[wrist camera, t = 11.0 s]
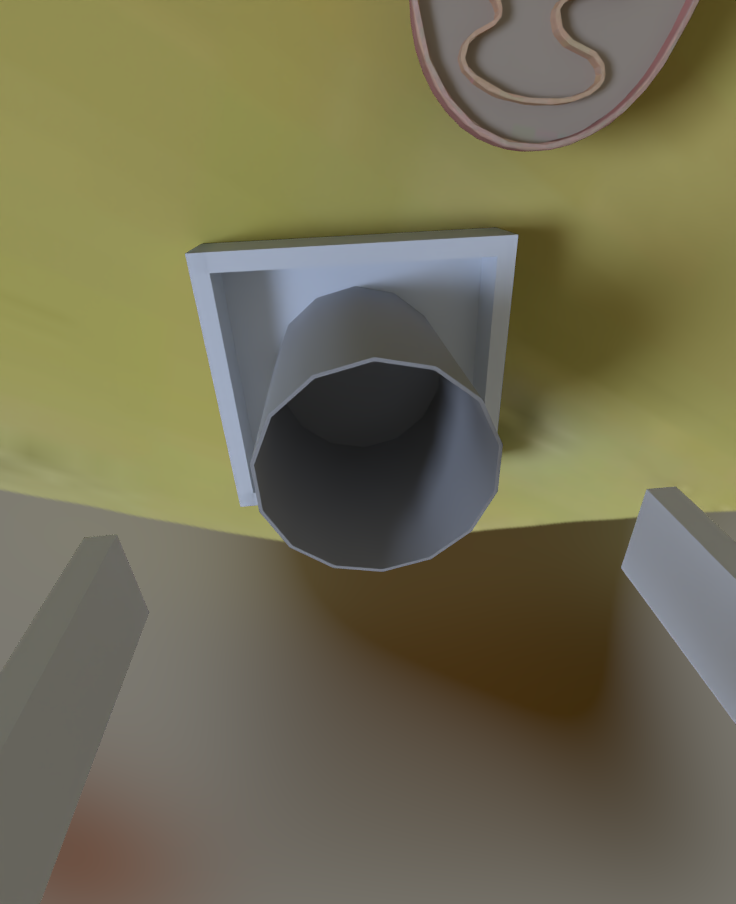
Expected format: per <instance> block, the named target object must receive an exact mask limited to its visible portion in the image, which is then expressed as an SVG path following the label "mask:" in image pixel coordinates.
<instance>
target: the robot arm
mask: <svg viewBox="0 0 736 904" xmlns="http://www.w3.org/2000/svg"><path fill="white" fill-rule="evenodd" d="M621 568H622V570H623V571H624V572H625V574H626V575H627V577H628V578H629V579H630V581H631V582H632V583H633V585H634V586H635V587H636V589H637V590H638V592H639V593H640V594H641V596H642V597H643V598H644V600H645V601H646V602H647V604H648V605H649V607H650V608H651V609H652V611H653V612H654V613H655V615H656V616H657V617H658V619H659V620H660V622H661V623H662V624H663V626H664V627H665V628H666V630H667V631H668V633H669V634H670V635H671V637H672V638H673V639H674V641H675V642H676V643H677V645H678V646H679V647H680V649H681V650H682V652H683V653H684V654H685V656H686V657H687V658H688V659H689V661H690V663H691V664H692V665H693V666H694V668H695V669H696V670H697V672H698V673H699V675H700V676H701V678H702V679H703V680H704V682H705V683H706V684H707V686H708V687H709V688H710V690H711V691H712V692H713V694H714V695H715V697H716V698H717V699H718V701H719V702H720V703H721V705H722V706H723V707H724V709H725V710H726V711H727V713H728V714H729V716H730V717H731V718H732V720H733V721H734V723H735V724H736V542H735V541H734V540H733V539H732V538H731V537H730V536H729V535H728V534H726V533H725V532H724V531H723V530H722V529H721V528H720V527H719V526H718V525H717V524H716V523H714V521H712V520H711V519H710V518H709V517H708V516H707V515H706V514H705V513H704V512H703V511H702V510H701V509H700V508H698V507H697V506H696V505H695V504H694V503H693V502H692V501H691V500H690V499H689V498H688V497H687V496H685V495H684V494H683V493H682V492H681V491H680V490H679V489H678V488H677V487H665V488H654V489H647V490H646V493H645V496H644V499H643V502H642V505H641V508H640V511H639V515H638V518H637V521H636V524H635V527H634V530H633V533H632V536H631V539H630V542H629V545H628V549H627V552H626V555H625V558H624V561H623V564H622V567H621ZM148 614H149V611H148V609H147V606H146V603H145V601H144V599H143V596H142V594H141V591H140V589H139V586H138V584H137V582H136V579H135V577H134V574H133V572H132V570H131V567H130V565H129V562H128V560H127V557H126V555H125V553H124V550H123V548H122V545H121V543H120V540H119V538H118V536H117V535H106V536H96V537H95V536H94V537H84V539H83V540H82V542H81V543H80V545H79V547H78V548H77V550H76V552H75V553H74V555H73V556H72V558H71V560H70V561H69V563H68V564H67V566H66V568H65V569H64V571H63V573H62V574H61V576H60V577H59V579H58V581H57V582H56V584H55V585H54V587H53V589H52V590H51V592H50V594H49V595H48V597H47V598H46V600H45V601H44V603H43V605H42V606H41V608H40V610H39V611H38V613H37V614H36V616H35V618H34V619H33V621H32V623H31V624H30V626H29V627H28V629H27V631H26V632H25V634H24V635H23V637H22V639H21V640H20V642H19V643H18V645H17V647H16V648H15V650H14V652H13V653H12V655H11V656H10V658H9V660H8V661H7V663H6V665H5V666H4V668H3V669H2V671H1V672H0V904H40V902H41V899H42V897H43V894H44V891H45V889H46V886H47V883H48V881H49V878H50V875H51V873H52V870H53V867H54V864H55V862H56V859H57V857H58V854H59V851H60V848H61V845H62V843H63V841H64V838H65V835H66V833H67V830H68V827H69V825H70V822H71V819H72V817H73V814H74V811H75V808H76V806H77V803H78V801H79V798H80V795H81V793H82V790H83V787H84V785H85V782H86V779H87V777H88V774H89V771H90V769H91V766H92V763H93V761H94V758H95V755H96V753H97V750H98V747H99V745H100V742H101V739H102V737H103V734H104V731H105V729H106V726H107V723H108V721H109V718H110V715H111V713H112V710H113V707H114V705H115V702H116V699H117V697H118V694H119V691H120V689H121V686H122V684H123V681H124V678H125V676H126V673H127V670H128V667H129V665H130V662H131V660H132V657H133V654H134V652H135V649H136V646H137V643H138V641H139V638H140V636H141V633H142V630H143V628H144V625H145V622H146V620H147V617H148Z"/></svg>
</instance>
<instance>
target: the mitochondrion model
mask: <svg viewBox="0 0 736 904" xmlns="http://www.w3.org/2000/svg"><path fill="white" fill-rule="evenodd" d="M409 2H410V19H411V27H412V33H413V39H414V44H415V50H416V53H417V56H418V59H419V62H420V65H421V68H422V71H423V74H424V76H425V78H426V80H427V82H428V84H429V86H430V88H431V90H432V92H433V94H434V96H435V97H436V98H437V100H438V101H439V103H440V104H441V106H442V107H443V108H444V110H445V111H446V112H447V113H448V114H449V116H450V117H451V118H452V119H453V120H454V121H455V122H456V123H457V124H458V125H459V126H460V127H461V128H462V129H464V130H465V131H467V132H468V133H470V134H471V135H473V136H474V137H476V138H477V139H479V140H482V141H484V142H486V143H488V144H491V145H493V146H497V147H500V148H503V149H507V150H515V151H542V150H551V149H555V148H559V147H563V146H567V145H570V144H572V143H575V142H577V141H579V140H582V139H584V138H586V137H588V136H590V135H592V134H593V133H595V132H597V131H599V130H601V129H602V128H604V127H606V126H608V125H609V124H610V123H611V122H613V121H614V120H615V119H616V118H617V117H618V116H620V115H621V114H622V113H623V112H624V111H626V110H627V109H628V108H629V106H630V105H631V104H632V103H633V102H634V101H635V100H636V99H637V98H638V97H639V96H640V95H641V94H642V93H643V92H644V91H645V90H646V89H647V87H648V86H649V85H650V83H651V82H652V81H653V79H654V78H655V76H656V75H657V74H658V72H659V71H660V70H661V68H662V67H663V66H664V64H665V63H666V61H667V59H668V57H669V56H670V54H671V52H672V50H673V48H674V47H675V45H676V43H677V41H678V40H679V38H680V36H681V34H682V32H683V31H684V29H685V27H686V25H687V24H688V22H689V20H690V18H691V16H692V14H693V12H694V10H695V8H696V6H697V4H698V2H699V0H409Z"/></svg>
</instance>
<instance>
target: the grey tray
mask: <svg viewBox="0 0 736 904" xmlns="http://www.w3.org/2000/svg"><path fill="white" fill-rule="evenodd" d="M517 243H518V234H515V233H512V232H509V231H506V230H502V229H499V228H496V227H494V228H476V229H458V230H440V231H422V232H404V233H386V234H369V235H351V236H333V237H315V238H297V239H279V240H261V241H243V242H225V243H207V244H200V245H199V246H197V247H195V248H194V249H192V250H190V251H188V252H187V253H185V256H186V260H187V265H188V269H189V274H190V278H191V283H192V288H193V292H194V297H195V301H196V306H197V310H198V315H199V319H200V324H201V329H202V333H203V338H204V342H205V347H206V351H207V356H208V360H209V365H210V370H211V374H212V379H213V383H214V388H215V392H216V397H217V401H218V406H219V411H220V415H221V420H222V424H223V429H224V433H225V438H226V443H227V447H228V452H229V456H230V461H231V465H232V470H233V474H234V479H235V484H236V488H237V493H238V497H239V502H240V506H241V507H242V506H254V505H258V502H257V497H256V492H255V487H254V482H253V477H252V472H251V467H250V463H251V459H252V455H253V451H254V447H255V443H256V439H257V435H258V431H259V427H260V423H261V419H262V415H263V411H264V407H265V403H266V399H267V395H268V391H269V387H270V383H271V379H272V375H273V371H274V367H275V363H276V359H277V356H278V353H279V350H280V348H281V345H282V342H283V339H284V336H285V333H286V330H287V327H288V325H289V324H290V323H291V322H292V321H293V320H294V319H295V318H296V317H297V316H298V315H299V314H300V313H301V312H302V311H303V310H304V309H305V308H306V307H307V306H308V305H309V304H311V303H312V302H313V301H314V300H315V299H316V298H318V297H321V296H324V295H327V294H331V293H334V292H337V291H341V290H344V289H347V288H350V287H354V286H357V287H362V288H368V289H374V290H380V291H386V292H392V293H395V294H396V295H397V296H399V297H400V298H401V299H403V300H404V301H405V302H407V303H408V304H409V305H411V306H412V307H413V308H415V309H416V310H417V311H419V312H420V313H421V314H423V315H424V316H425V318H426V319H427V321H428V322H429V323H430V325H431V326H432V328H433V329H434V331H435V332H436V333H437V335H438V336H439V338H440V339H441V341H442V342H443V343H444V345H445V346H446V348H447V349H448V351H449V352H450V354H451V355H452V356H453V358H454V359H455V361H456V362H457V364H458V365H459V366H460V368H461V369H462V371H463V372H464V374H465V375H466V376H467V378H468V379H469V381H470V382H471V384H472V385H473V387H474V388H475V389H476V391H477V392H478V394H479V395H480V397H481V398H482V400H483V402H484V404H485V406H486V409H487V411H488V413H489V415H490V417H491V420H492V422H493V424H494V426H495V428H496V431H498V422H499V413H500V403H501V394H502V384H503V375H504V365H505V356H506V347H507V337H508V328H509V318H510V309H511V299H512V290H513V280H514V271H515V262H516V252H517Z"/></svg>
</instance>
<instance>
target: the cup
mask: <svg viewBox="0 0 736 904" xmlns="http://www.w3.org/2000/svg"><path fill="white" fill-rule="evenodd" d="M502 447H503V444H502V442H501V439H500V437H499V435H498V433H497V431H496V428H495V426H494V424H493V422H492V420H491V417H490V415H489V413H488V411H487V409H486V406H485V404H484V402H483V400H482V398H481V397H480V395H479V394H478V392H477V391H476V389H475V388H474V387H473V385H472V384H471V382H470V381H469V379H468V378H467V376H466V375H465V374H464V372H463V371H462V369H461V368H460V366H459V365H458V364H457V362H456V361H455V359H454V358H453V356H452V355H451V354H450V352H449V351H448V349H447V348H446V346H445V345H444V343H443V342H442V341H441V339H440V338H439V336H438V335H437V333H436V332H435V331H434V329H433V328H432V326H431V325H430V323H429V322H428V321H427V319H426V318H425V316H424V315H423V314H421V313H420V312H419V311H417V310H416V309H415V308H413V307H412V306H411V305H409V304H408V303H407V302H405V301H404V300H403V299H401V298H400V297H399V296H397V295H396V294H395V293H392V292H386V291H380V290H374V289H368V288H362V287H357V286H354V287H350V288H347V289H344V290H341V291H337V292H334V293H331V294H327V295H324V296H321V297H318V298H316V299H315V300H314V301H313V302H312V303H311V304H309V305H308V306H307V307H306V308H305V309H304V310H303V311H302V312H301V313H300V314H299V315H298V316H297V317H296V318H295V319H294V320H293V321H292V322H291V323H290V324H289V325H288V327H287V330H286V333H285V336H284V339H283V342H282V345H281V348H280V350H279V353H278V356H277V359H276V363H275V367H274V371H273V375H272V379H271V383H270V387H269V391H268V395H267V399H266V403H265V407H264V411H263V415H262V419H261V423H260V427H259V431H258V435H257V439H256V443H255V447H254V451H253V455H252V459H251V463H250V467H251V472H252V477H253V482H254V487H255V492H256V497H257V502H258V507H259V512H260V513H261V514H262V515H263V516H264V518H265V519H266V520H267V521H268V522H269V523H270V525H271V526H272V527H273V528H274V529H275V531H276V532H277V533H278V534H279V535H280V536H281V538H282V539H283V540H284V541H285V542H286V543H287V545H288V546H289V547H290V548H292V549H294V550H297V551H299V552H301V553H303V554H305V555H307V556H309V557H312V558H314V559H316V560H318V561H320V562H322V563H324V564H326V565H328V566H331V567H333V568H343V569H355V570H368V571H382V572H383V571H387V570H390V569H394V568H398V567H402V566H406V565H410V564H413V563H417V562H421V561H425V560H429V559H432V558H433V557H435V556H436V555H437V554H439V553H440V552H442V551H443V550H445V549H446V548H448V547H449V546H451V545H452V544H454V543H455V542H457V541H458V540H459V539H461V538H462V537H464V536H465V535H467V534H468V533H470V532H471V531H472V530H473V528H474V527H475V525H476V524H477V522H478V521H479V519H480V517H481V516H482V514H483V513H484V511H485V510H486V508H487V507H488V505H489V504H490V502H491V501H492V499H493V498H494V496H495V495H496V493H497V492H498V483H499V474H500V465H501V456H502Z"/></svg>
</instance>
